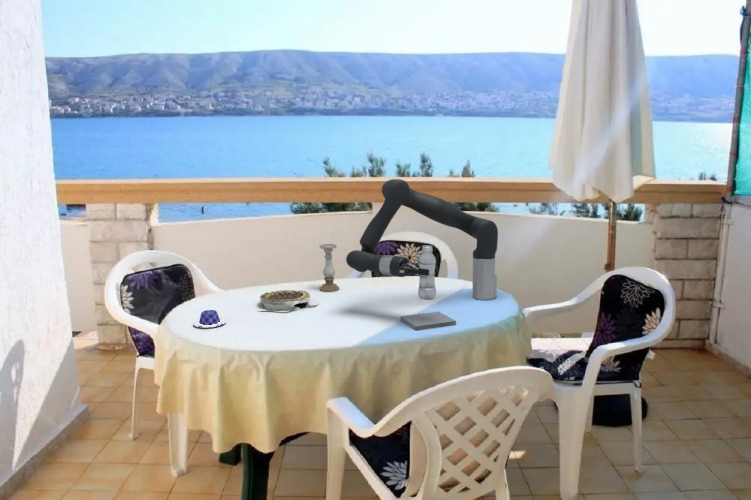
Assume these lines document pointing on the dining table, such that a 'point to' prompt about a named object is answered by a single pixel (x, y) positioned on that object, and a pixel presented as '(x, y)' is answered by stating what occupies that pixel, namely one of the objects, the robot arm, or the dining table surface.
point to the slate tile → (427, 320)
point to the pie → (285, 300)
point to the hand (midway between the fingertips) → (432, 270)
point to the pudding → (209, 317)
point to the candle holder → (328, 269)
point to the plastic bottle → (428, 282)
